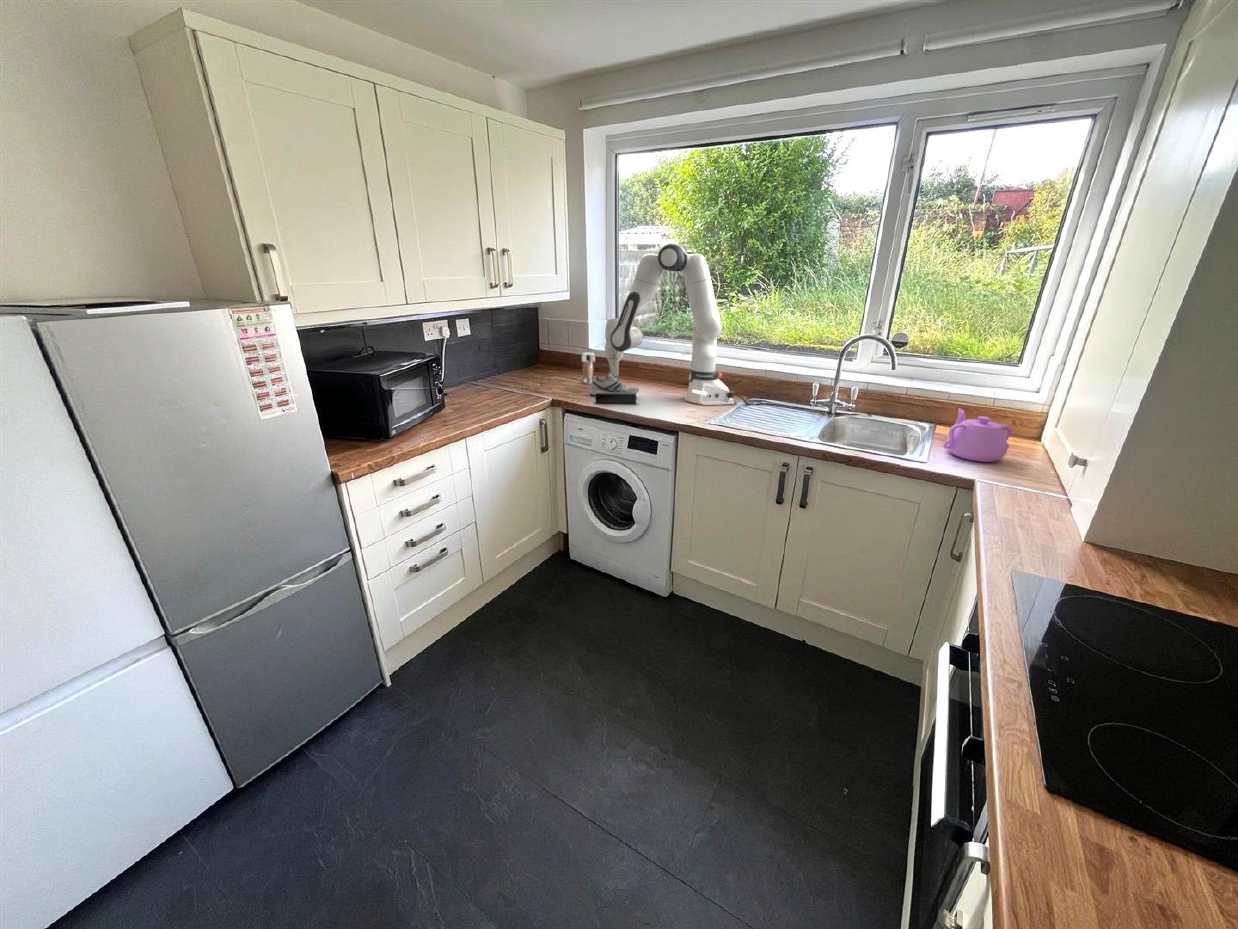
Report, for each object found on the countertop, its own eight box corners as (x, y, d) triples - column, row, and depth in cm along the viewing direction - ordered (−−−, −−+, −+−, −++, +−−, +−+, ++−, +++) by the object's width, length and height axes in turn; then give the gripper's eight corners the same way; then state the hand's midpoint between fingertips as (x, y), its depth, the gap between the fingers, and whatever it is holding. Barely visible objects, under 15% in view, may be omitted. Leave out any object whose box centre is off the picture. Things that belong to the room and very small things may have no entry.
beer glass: (597, 382, 263) (597, 353, 257) (591, 384, 257) (591, 355, 251) (585, 380, 265) (585, 352, 260) (579, 382, 259) (579, 353, 254)
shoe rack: (635, 403, 223) (636, 392, 221) (635, 404, 222) (636, 392, 220) (595, 402, 222) (595, 391, 220) (595, 403, 221) (595, 392, 219)
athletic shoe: (638, 398, 230) (639, 372, 228) (588, 398, 230) (589, 371, 228) (638, 398, 240) (638, 373, 238) (590, 398, 240) (590, 372, 238)
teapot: (977, 444, 183) (988, 407, 178) (1023, 465, 163) (1037, 425, 158) (918, 442, 182) (928, 406, 177) (957, 464, 162) (969, 423, 157)
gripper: (622, 356, 228) (621, 386, 233) (619, 350, 247) (618, 377, 252) (608, 356, 228) (607, 386, 233) (606, 349, 247) (606, 377, 252)
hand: (613, 381), depth 243 cm, fingers closed
